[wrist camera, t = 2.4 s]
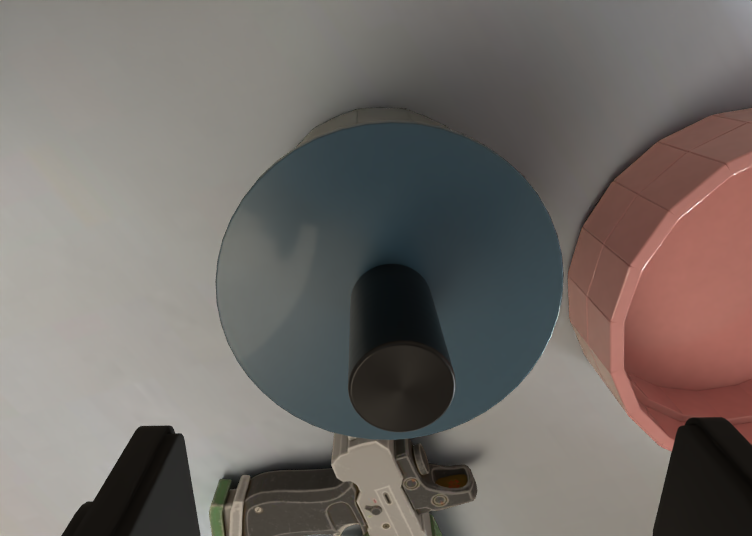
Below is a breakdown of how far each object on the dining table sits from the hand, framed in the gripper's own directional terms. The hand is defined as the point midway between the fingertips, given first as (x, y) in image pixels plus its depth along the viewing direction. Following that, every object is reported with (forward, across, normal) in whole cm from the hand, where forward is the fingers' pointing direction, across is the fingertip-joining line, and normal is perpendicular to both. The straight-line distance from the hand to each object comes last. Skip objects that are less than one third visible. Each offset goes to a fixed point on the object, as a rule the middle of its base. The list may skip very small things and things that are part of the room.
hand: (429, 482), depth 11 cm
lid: (+8, 0, 0) cm, 9 cm away
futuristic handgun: (+17, +1, +20) cm, 27 cm away
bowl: (+17, -16, +3) cm, 24 cm away
